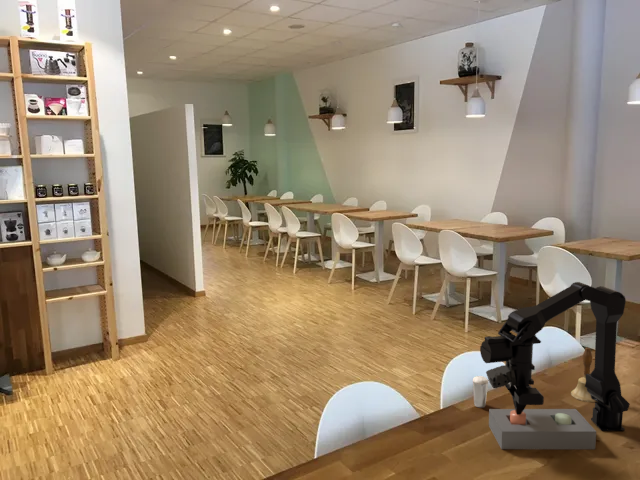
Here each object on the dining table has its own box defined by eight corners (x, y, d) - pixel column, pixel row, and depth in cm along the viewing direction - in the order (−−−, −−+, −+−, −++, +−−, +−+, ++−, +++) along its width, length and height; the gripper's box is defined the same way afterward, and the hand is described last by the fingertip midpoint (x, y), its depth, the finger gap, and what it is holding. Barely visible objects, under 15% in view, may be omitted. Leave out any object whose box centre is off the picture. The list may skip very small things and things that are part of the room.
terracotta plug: (522, 427, 145) (523, 410, 144) (527, 434, 141) (528, 417, 140) (507, 427, 145) (508, 410, 144) (512, 434, 141) (512, 417, 140)
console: (574, 425, 148) (575, 408, 147) (595, 449, 136) (596, 431, 136) (488, 425, 149) (489, 409, 149) (501, 449, 138) (502, 431, 137)
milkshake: (491, 409, 158) (492, 378, 157) (472, 408, 159) (473, 377, 158) (489, 402, 163) (490, 372, 161) (471, 401, 164) (472, 370, 162)
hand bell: (592, 405, 160) (596, 355, 157) (565, 395, 166) (568, 347, 164) (605, 396, 165) (608, 348, 162) (578, 387, 171) (581, 341, 169)
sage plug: (566, 430, 144) (567, 413, 144) (572, 437, 140) (574, 420, 140) (551, 430, 145) (552, 413, 144) (557, 437, 141) (558, 420, 140)
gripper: (480, 346, 149) (479, 397, 152) (500, 374, 131) (498, 432, 133) (520, 346, 148) (518, 397, 151) (545, 373, 130) (542, 432, 133)
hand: (518, 413), depth 142 cm, fingers closed, pressing on terracotta plug
